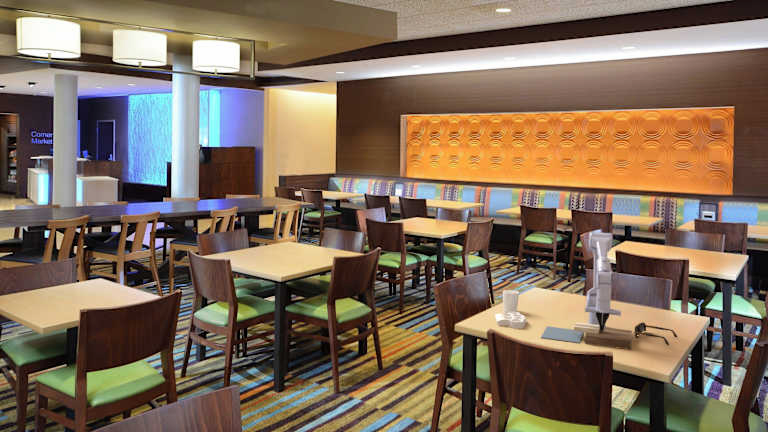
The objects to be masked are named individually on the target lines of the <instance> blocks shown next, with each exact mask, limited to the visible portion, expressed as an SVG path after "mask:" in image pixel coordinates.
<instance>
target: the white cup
mask: <svg viewBox="0 0 768 432" xmlns="http://www.w3.org/2000/svg"><path fill="white" fill-rule="evenodd" d="M519 294H520V292H519V291H517V290H514V289H504V290H502V310H503V313H508V312H518V305H519Z"/></svg>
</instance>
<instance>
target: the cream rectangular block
mask: <svg viewBox="0 0 768 432" xmlns="http://www.w3.org/2000/svg"><path fill="white" fill-rule="evenodd" d="M573 328H574V329H573V330H574V331H577V332H583V333H585V334H586V333H596V334H599V330H600V326H599V325H595V324H588V323H585V322H584V323H583V322H575V324H574V326H573Z"/></svg>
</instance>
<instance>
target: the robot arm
mask: <svg viewBox="0 0 768 432" xmlns="http://www.w3.org/2000/svg"><path fill="white" fill-rule="evenodd" d="M613 240H614V239H613V234H612V232H594V231H593V232H592V231H590V232H589V234H588V250H589V251H590V252H592V256H593V281H592V282H593V284H592V285H593V287H592V288H590V289H589V290H587V292H586V301H585V302H586V303H585V304H586V305H585V307H584V312H585V313H588V322H587V324H595V325H599V326H600V330H601V331H603V330H604V327H606V328H607V324H606V323H607V321H608V319H609V317H610V315H612V316H618V317H621V316H622V310H619V309H614V308H611V300H612V286H613V284H614V278H615V277H614V276H615V275H614V272H613V270H612V264H611V263H612V262H611V260H610V258H608V252H610V250H611V249H612V245H613V242H614V241H613Z"/></svg>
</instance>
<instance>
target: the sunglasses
mask: <svg viewBox="0 0 768 432" xmlns="http://www.w3.org/2000/svg"><path fill="white" fill-rule="evenodd" d="M647 328H648V329H649V328H650V329H656V330H662V331H670V332H671V333H672V335H673V336H674V338H675V337H677V338H678V335H677V333H676V332H675V331H674V330H673V329H670V328H666V327H665V328H664V327H659V326H654V325H649V324H648V325H647V324H646V323H645V322H639V323H638V324H636V325H635V327H634V331H633V332H634V337H635V339H638V338H639V337H638V336H637V335H639V336H641V335H642V336H647V337H652V338H659V339H660V338H661V339H663V340H664V343H665V345H666V344H667V345H666V346H668V345H669V346H670V343H669V341H668V340H667V339H666V337H664V336H661V335H657V334H652V333H648V332H647ZM643 331H646V332H647V333H646V332H645V333H642V332H643Z"/></svg>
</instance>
